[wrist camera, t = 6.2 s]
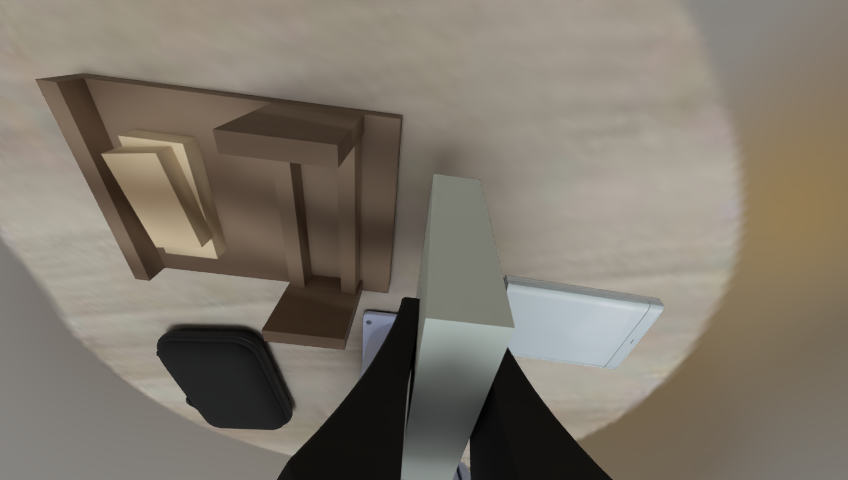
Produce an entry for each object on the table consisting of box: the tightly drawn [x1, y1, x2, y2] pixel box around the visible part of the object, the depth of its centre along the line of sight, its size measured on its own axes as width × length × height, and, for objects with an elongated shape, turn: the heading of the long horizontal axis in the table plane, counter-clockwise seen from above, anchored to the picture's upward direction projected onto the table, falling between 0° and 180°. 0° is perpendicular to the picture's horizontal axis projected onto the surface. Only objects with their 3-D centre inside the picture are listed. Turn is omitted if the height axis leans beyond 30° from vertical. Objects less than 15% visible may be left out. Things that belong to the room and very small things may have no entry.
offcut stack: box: [101, 130, 227, 259], centre depth 20 cm, size 8×4×2 cm, turn 173°
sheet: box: [401, 174, 515, 480], centre depth 13 cm, size 9×2×8 cm, turn 173°
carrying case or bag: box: [156, 329, 293, 430], centre depth 32 cm, size 11×3×15 cm
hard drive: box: [504, 275, 664, 369], centre depth 27 cm, size 2×8×12 cm
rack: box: [35, 73, 402, 350], centre depth 19 cm, size 13×18×6 cm
